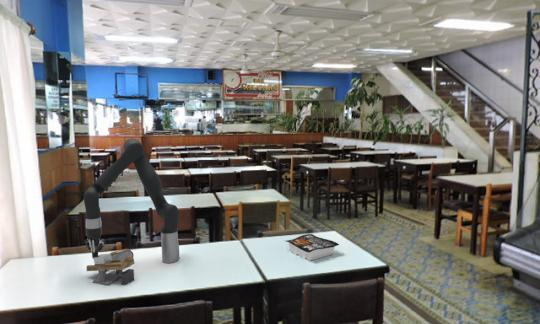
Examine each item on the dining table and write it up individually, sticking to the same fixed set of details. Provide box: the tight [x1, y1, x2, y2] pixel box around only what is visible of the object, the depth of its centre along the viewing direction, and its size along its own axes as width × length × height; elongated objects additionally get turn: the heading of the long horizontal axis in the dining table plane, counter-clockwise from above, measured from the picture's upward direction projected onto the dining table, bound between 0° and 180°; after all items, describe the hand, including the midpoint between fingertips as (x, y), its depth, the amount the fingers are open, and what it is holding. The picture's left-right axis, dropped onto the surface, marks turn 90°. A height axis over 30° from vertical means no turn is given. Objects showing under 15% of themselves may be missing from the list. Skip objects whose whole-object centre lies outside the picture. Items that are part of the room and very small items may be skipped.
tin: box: [109, 248, 135, 260], centre depth 214 cm, size 15×3×8 cm, turn 135°
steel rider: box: [93, 253, 113, 265], centre depth 197 cm, size 5×7×5 cm
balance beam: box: [86, 254, 135, 273], centre depth 195 cm, size 8×25×6 cm, turn 67°
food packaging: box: [285, 233, 340, 262], centre depth 229 cm, size 25×8×23 cm
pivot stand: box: [92, 268, 135, 287], centre depth 194 cm, size 14×18×7 cm
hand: (95, 258), depth 199 cm, fingers closed
